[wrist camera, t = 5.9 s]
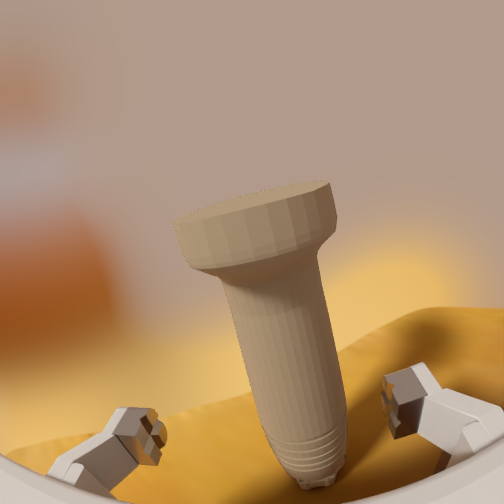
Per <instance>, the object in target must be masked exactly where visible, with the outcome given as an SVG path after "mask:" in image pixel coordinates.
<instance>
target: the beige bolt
mask: <svg viewBox="0 0 504 504" xmlns="http://www.w3.org/2000/svg"><path fill="white" fill-rule="evenodd" d="M336 223H337V214H336V209H335V204H334V199H333V195H332V191H331V187H330V183H329V182H327V181H313V182H306V183H298V184H292V185H287V186H282V187H277V188H273V189H268V190H264V191H260V192H256V193H252V194H248V195H244V196H240V197H236V198H233V199H229V200H226V201H222V202H219V203H216V204H213V205H210V206H207V207H204V208H201V209H198V210H196V211H193V212H190V213H188V214H186V215H184V216H182V217H180V218H178V219H176V220H174V221H173V224H174V228H175V231H176V235H177V239H178V241H179V244H180V247H181V250H182V253H183V255H184V257H185V259H186V262H187V263H188V264H189V266H190V267H191V268H193V269H196V270H199V271H202V272H204V273H207V274H210V275H213V276H217V277H219V278H220V279H221V281H222V284H223V288H224V291H225V294H226V297H227V300H228V303H229V306H230V310H231V314H232V318H233V322H234V325H235V329H236V333H237V337H238V341H239V344H240V348H241V352H242V355H243V359H244V363H245V367H246V371H247V374H248V378H249V382H250V386H251V389H252V393H253V397H254V401H255V404H256V408H257V411H258V415H259V419H260V422H261V424H262V427H263V430H264V432H265V434H266V437H267V440H268V442H269V444H270V446H271V448H272V450H273V452H274V454H275V456H276V457H277V459H278V461H279V462H280V464H281V465H282V467H283V468H284V469H285V471H286V473H287V474H288V475H289V476H290V477H292V478H295V479H296V480H297V482H298V484H299V486H300V487H301V488H302V489H305V490H310V489H311V488H314V487H318V486H326V487H328V486H330V485H332V484H333V483H334V482H335V477H336V474H337V473H338V471H339V470H340V469H341V468H343V467H344V463H345V457H346V454H345V452H346V446H347V428H348V424H347V406H346V398H345V392H344V387H343V381H342V376H341V371H340V366H339V361H338V356H337V352H336V347H335V342H334V337H333V333H332V328H331V323H330V319H329V314H328V309H327V305H326V300H325V296H324V292H323V287H322V283H321V277H320V271H319V266H318V260H317V252H318V250H319V248H320V247H321V245H322V244H323V243H324V242H325V241H326V240H327V239H328V238H329V237H330V236H331V235H332V234H333V233H334V232H335V230H336Z"/></svg>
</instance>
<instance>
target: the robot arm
mask: <svg viewBox="0 0 504 504" xmlns="http://www.w3.org/2000/svg"><path fill="white" fill-rule="evenodd" d="M381 385H382V387H383V389H384V390H383V391H382V393H381V404H382V409H383V413H384V415H385V418H387V419H389V428H390V430H391V433H392V435H393V438H394V440H396V439H399V438H402V437H405V436H408V435H411V434H414V433H417V432H418V433H417V434H419V435H421V436H422V437H424V438H425V439H427V440H428V441H430V442H432V443H433V444H435V445H436V446H438V447H440V448H441V449H443V450H445V451H446V452H448V453H449V454H451V455H452V456H451V458H450V460H449V463H448V465H447V467H446V469H445V470H444V471H441V472H439V473H437V474H434V475H432V476H430V477H427V478H425V479H422V480H420V481H417V482H415V483H412V484H409V485H406V486H403V487H401V488H398V489H395V490H391V491H388V492H385V493H382V494H378V495H375V496H371V497H368V498H364V499H360V500H356V501H351V502H347V503H342V504H504V411H503V410H502V409H501V407H500V406H497V405H494V404H491V403H488V402H485V401H482V400H479V399H476V398H473V397H470V396H467V395H465V394H462V393H459V392H456V391H453V390H451V389H448V388H445V389H442V387H441V386H440V385H439V383H438V382H437V380H436V379H435V377H434V376H433V375H432V373H431V372H430V370H429V369H428V368H427V366H426V365H425V364H424V363H423V362H421V363H418V364H415V365H412V366H410V367H407V368H404V369H401V370H398V371H395V372H392V373H389V374H386V375H382V379H381ZM157 418H158V414H157V413H156V411H155V410H154V409H151V408H135V407H119V408H117V409H116V411H115V412H114V414H113V416H112V417H111V419H110V420H109V422H108V424H107V425H106V427H105V428H104V430H103V432H102V433H98V434H96V435H94V436H93V437H91V438H89V439H88V440H86V441H84V442H83V443H81V444H79V445H78V446H76V447H74V448H72V449H71V450H69V451H67V452H66V453H64V454H62V455H60V456H59V457H58V458H57V459H56V461H55V462H54V464H53V465H52V467H51V468H50V470H49V471H48V473H47V475H46V476H45V475H42V474H40V473H38V472H36V471H33V470H31V469H29V468H27V467H25V466H23V465H21V464H19V463H17V462H15V461H13V460H11V459H9V458H7V457H6V456H4V455H2V454H0V504H133V503H129V502H124V501H120V500H117V498H116V497H115V496H114V495H113V494H111V493H110V491H111V490H112V489H113V488H114V487H115V486H116V485H118V484H119V483H120V482H121V481H122V480H123V479H124V478H125V477H127V476H128V475H129V474H130V473H131V472H132V471H133V470H134V469H135V468H137V467H138V466H139V465H138V464H140V465H151V466H158V463H159V460H160V458H161V455H162V452H161V450H160V449H161V448H162V447H164V446H165V444H166V442H167V430H166V427H165V426H164V424H163V423H162V422H161V421H159V420H158V419H157Z"/></svg>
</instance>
